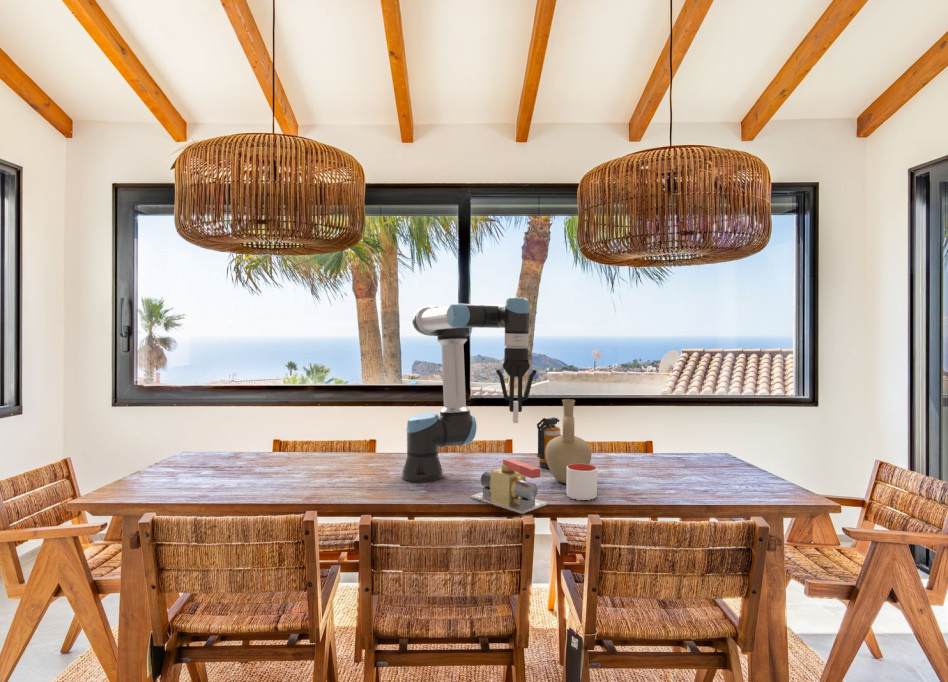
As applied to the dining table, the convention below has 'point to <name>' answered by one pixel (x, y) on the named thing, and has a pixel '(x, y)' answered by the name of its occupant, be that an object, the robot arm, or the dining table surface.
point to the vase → (566, 447)
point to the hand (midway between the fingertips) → (515, 422)
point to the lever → (520, 468)
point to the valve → (509, 491)
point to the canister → (546, 437)
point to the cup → (581, 481)
